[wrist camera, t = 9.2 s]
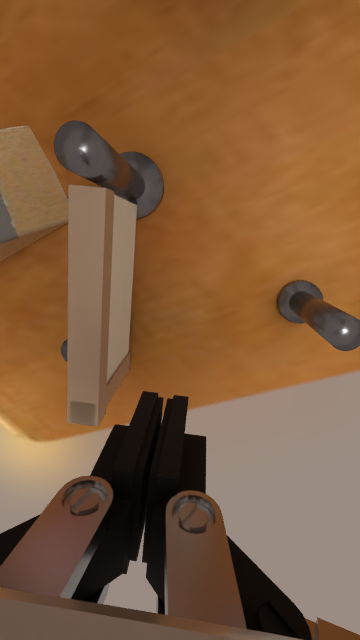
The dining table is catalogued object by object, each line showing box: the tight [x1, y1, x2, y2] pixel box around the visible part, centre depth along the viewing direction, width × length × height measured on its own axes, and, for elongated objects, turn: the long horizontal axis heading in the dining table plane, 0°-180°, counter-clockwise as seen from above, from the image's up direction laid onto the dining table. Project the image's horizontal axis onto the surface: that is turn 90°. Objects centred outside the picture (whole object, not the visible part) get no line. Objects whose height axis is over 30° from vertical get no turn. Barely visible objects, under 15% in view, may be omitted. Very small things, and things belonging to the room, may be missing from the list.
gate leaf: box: [67, 184, 137, 427], centre depth 23 cm, size 14×2×9 cm, turn 174°
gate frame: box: [54, 121, 360, 361], centre depth 23 cm, size 21×16×12 cm
